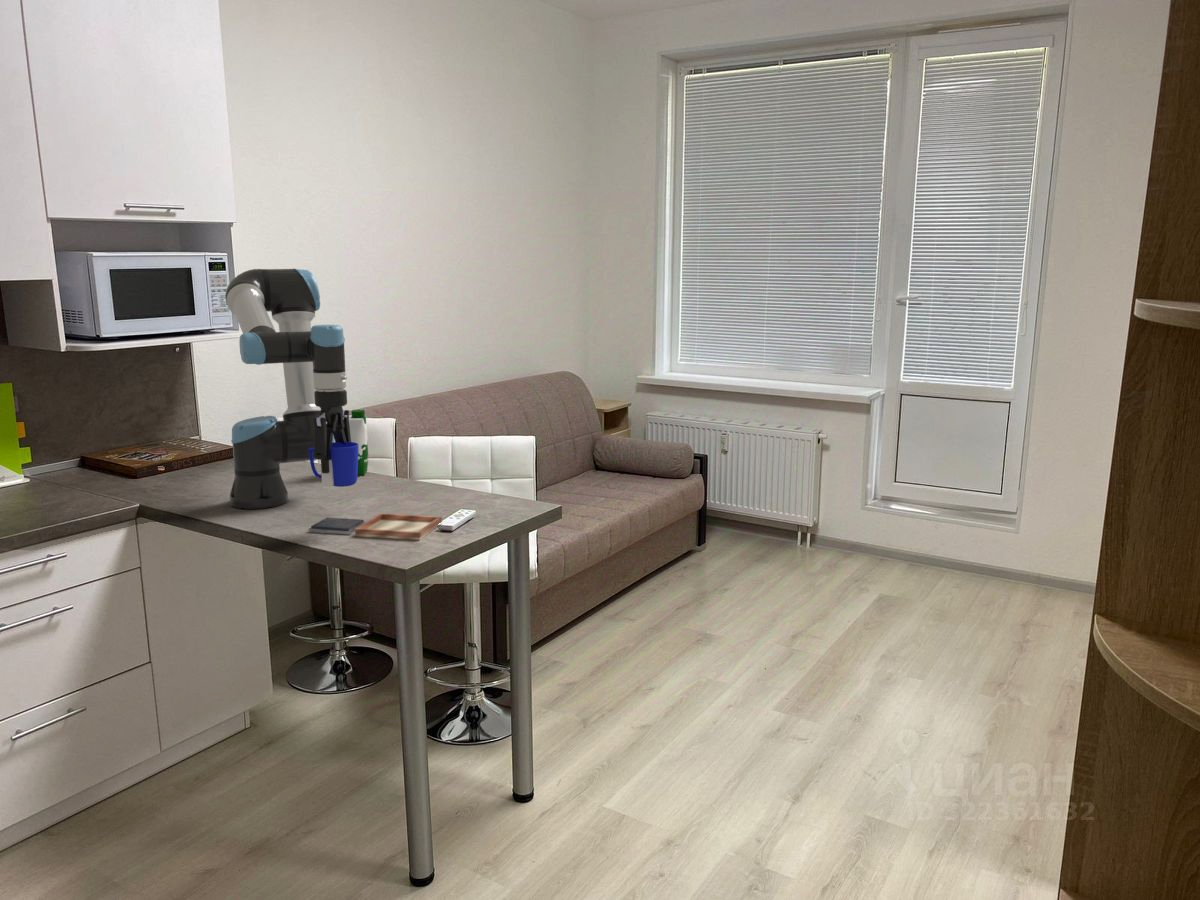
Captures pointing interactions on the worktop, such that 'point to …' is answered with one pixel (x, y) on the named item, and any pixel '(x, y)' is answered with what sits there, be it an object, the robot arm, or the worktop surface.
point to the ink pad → (336, 526)
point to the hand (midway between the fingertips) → (335, 482)
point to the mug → (341, 463)
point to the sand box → (398, 526)
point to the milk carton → (360, 438)
